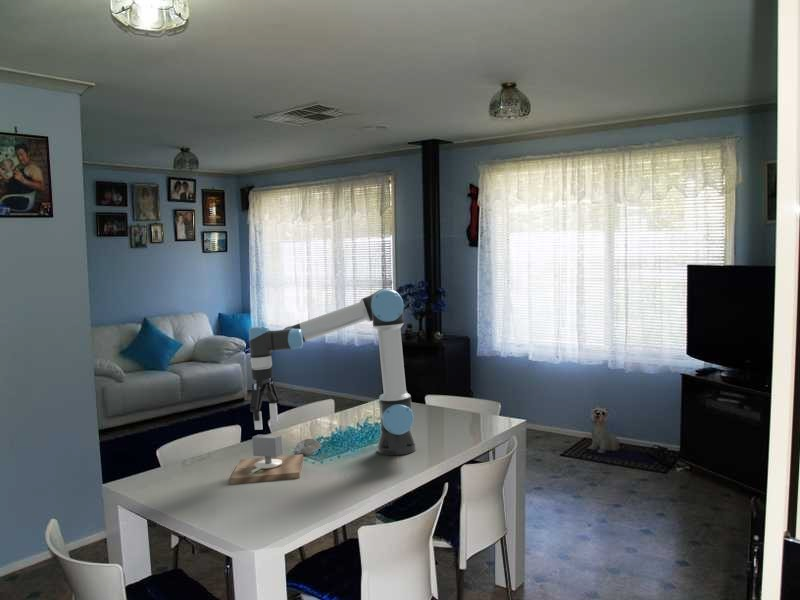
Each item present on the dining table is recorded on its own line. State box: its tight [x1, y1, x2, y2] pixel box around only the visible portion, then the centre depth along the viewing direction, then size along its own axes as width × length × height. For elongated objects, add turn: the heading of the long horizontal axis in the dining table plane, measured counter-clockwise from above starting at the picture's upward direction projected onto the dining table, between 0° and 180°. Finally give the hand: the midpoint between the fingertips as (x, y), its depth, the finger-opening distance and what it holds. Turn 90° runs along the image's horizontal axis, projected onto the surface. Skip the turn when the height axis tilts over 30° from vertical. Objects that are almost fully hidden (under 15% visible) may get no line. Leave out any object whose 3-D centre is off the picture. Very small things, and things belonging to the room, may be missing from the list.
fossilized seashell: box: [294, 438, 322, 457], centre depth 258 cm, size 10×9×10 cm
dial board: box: [229, 454, 304, 485], centre depth 235 cm, size 24×24×2 cm
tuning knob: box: [251, 434, 283, 473], centre depth 233 cm, size 15×10×11 cm, turn 158°
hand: (266, 424), depth 235 cm, fingers open, 13 cm apart
